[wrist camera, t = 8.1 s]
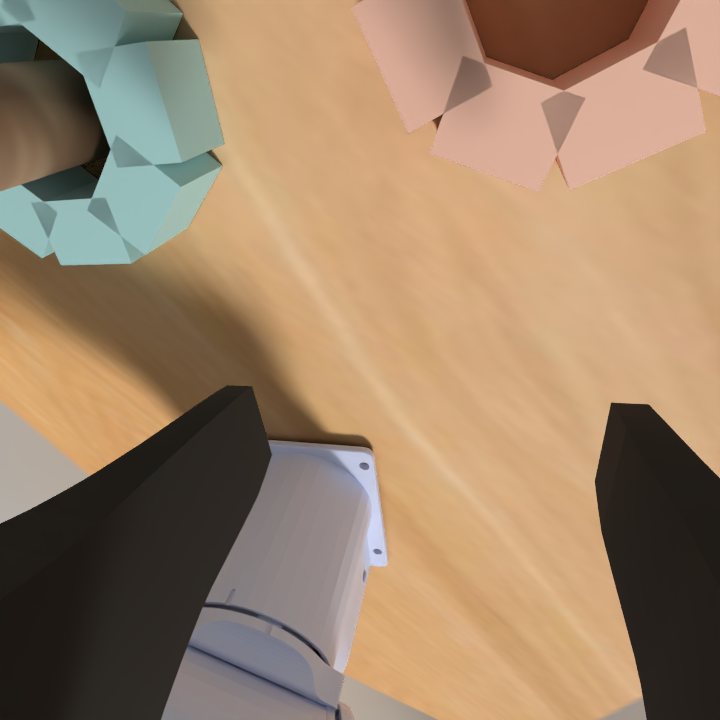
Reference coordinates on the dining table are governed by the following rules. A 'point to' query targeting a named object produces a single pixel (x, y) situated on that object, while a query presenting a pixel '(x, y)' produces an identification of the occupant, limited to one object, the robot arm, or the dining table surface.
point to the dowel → (45, 121)
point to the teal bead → (117, 130)
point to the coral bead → (546, 90)
